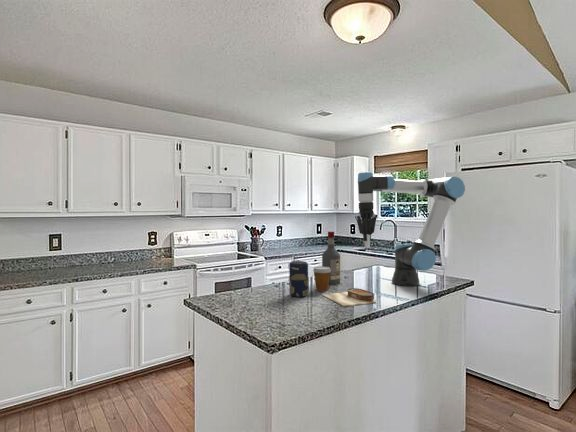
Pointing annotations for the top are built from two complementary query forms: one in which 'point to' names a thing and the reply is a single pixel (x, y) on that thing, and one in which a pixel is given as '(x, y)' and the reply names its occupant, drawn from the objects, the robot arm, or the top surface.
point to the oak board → (346, 299)
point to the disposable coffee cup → (321, 277)
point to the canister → (298, 278)
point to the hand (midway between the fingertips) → (367, 246)
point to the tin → (361, 294)
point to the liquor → (332, 260)
